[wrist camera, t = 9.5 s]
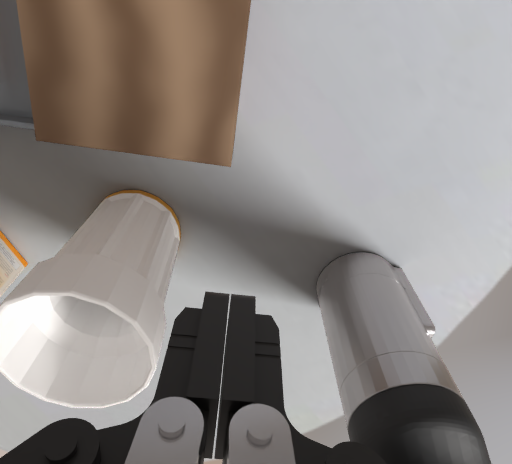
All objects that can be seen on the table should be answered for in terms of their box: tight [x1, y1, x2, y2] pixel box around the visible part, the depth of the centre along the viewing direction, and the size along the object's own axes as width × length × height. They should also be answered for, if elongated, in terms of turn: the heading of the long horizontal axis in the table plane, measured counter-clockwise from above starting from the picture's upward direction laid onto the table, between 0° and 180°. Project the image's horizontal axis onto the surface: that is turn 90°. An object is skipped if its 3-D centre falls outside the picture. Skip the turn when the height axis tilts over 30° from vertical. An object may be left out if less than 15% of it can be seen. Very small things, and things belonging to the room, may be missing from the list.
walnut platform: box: [16, 0, 251, 167], centre depth 30 cm, size 16×16×4 cm
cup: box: [0, 190, 181, 408], centre depth 33 cm, size 11×11×17 cm
